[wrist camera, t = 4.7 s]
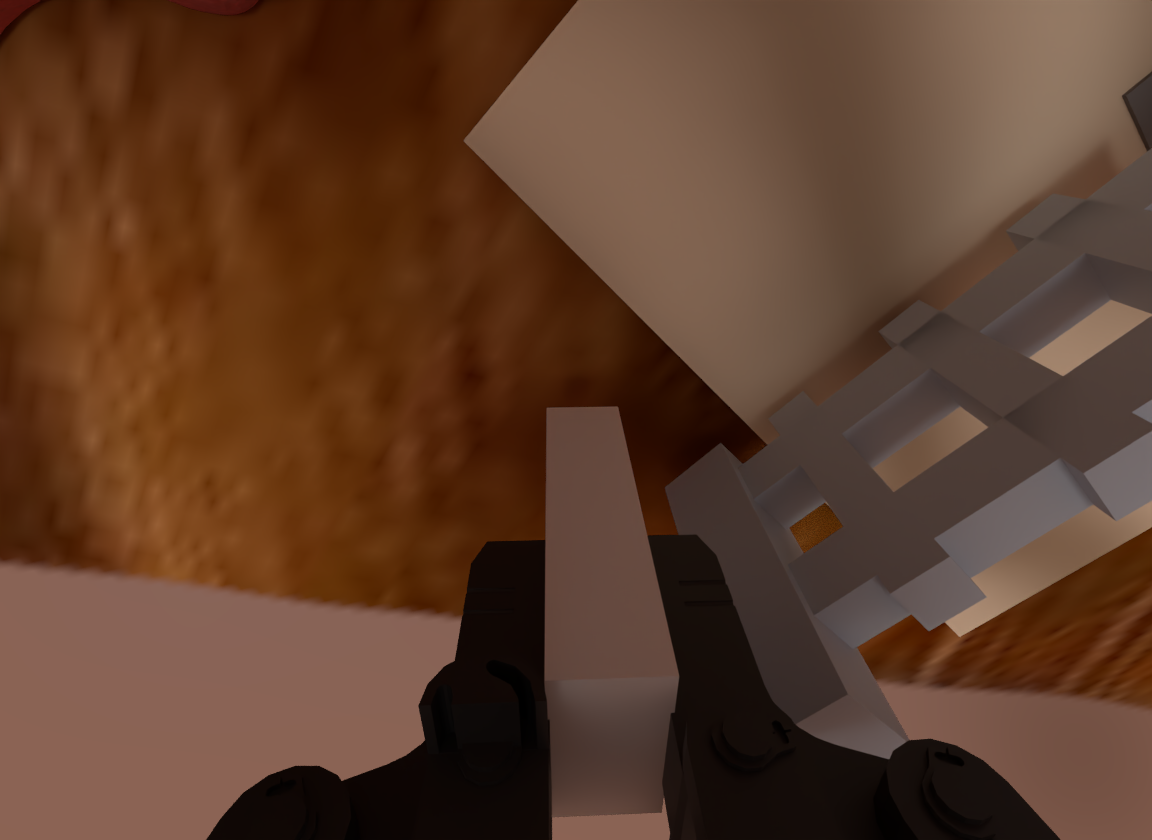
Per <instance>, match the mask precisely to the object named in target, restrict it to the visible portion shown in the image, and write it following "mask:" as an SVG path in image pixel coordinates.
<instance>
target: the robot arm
mask: <svg viewBox="0 0 1152 840" xmlns="http://www.w3.org/2000/svg"><path fill="white" fill-rule="evenodd" d="M419 711H420V715H421V721H422V726H423V731H424V736H425V741H424V742H423V743H422V744H421V745H419V746H418V747H417V748H415V749H414V750H413V751H411V752H410V753H409V754H407V755H406V756H404V757H402V758H400V759H398V760H396V761H393V762H391V763H389V764H387V765H384V766H382V767H379V768H376V769H373V770H371V771H368V772H365V773H363V774H360V775H357V776H354V777H352V778H349V779H346V780H344V781H341V779H340V778H339V776H338V775H336V774H334V773H332V772H330V771H328V770H326V769H324V768H322V767H320V766H294V767H291V768H288V769H285V770H282V771H280V772H276V773H274V774H271V775H268V776H267V777H265V778H264V779H263V780H261V781H260V782H258V783H257V784H255V785H254V786H253V787H251V788H250V789H248V790H247V791H245V792H244V793H243V794H242V795H241V796H240V797H239V798H238V800H236V802H235V803H234V804H233V805H232V806H231V808H229V810H228V811H227V812H226V813H225V814H224V815H223V816H222V818H221V819H220V820H219V822H218V823H217V825H216V826H215V828H214V829H213V831H212V832H211V834H210V835H209V837H208V838H207V840H552V817H569V816H590V815H591V816H592V815H616V814H639V813H661V812H662V805H663V798H665V804H666V810H667V816H668V822H669V828H670V839H669V840H1060V839H1059V838H1058V836H1057V835H1056V834H1055V833H1054V832H1053V831H1052V830H1051V829H1050V828H1049V826H1047V824H1046V823H1045V822H1044V821H1043V820H1042V819H1041V818H1040V817H1039V816H1038V814H1037V813H1036V812H1035V811H1034V810H1033V809H1032V808H1031V807H1030V806H1029V805H1028V804H1027V802H1026V801H1025V800H1024V799H1023V798H1022V797H1021V796H1020V795H1019V794H1018V793H1017V792H1016V790H1015V789H1014V788H1013V787H1012V786H1011V785H1010V784H1009V783H1008V782H1007V781H1006V780H1005V779H1004V778H1003V777H1002V776H1000V775H999V774H998V773H997V772H995V770H994V769H992V768H991V767H990V766H989V765H988V764H987V763H986V762H984V761H983V760H981V759H980V758H978V757H976V756H974V755H972V754H970V753H969V752H967V751H965V750H963V749H962V748H960V747H958V746H956V745H952V744H948V743H944V742H941V741H937V740H933V739H921V740H909V741H907V742H905V743H904V744H902V745H901V746H899V747H898V748H896V749H895V750H893V752H892V754H891V756H890V759H886V758H882V757H879V756H875V755H871V754H868V753H864V752H860V751H857V750H853V749H850V748H846V747H842V746H839V745H835V744H832V743H830V742H827V741H824V740H822V739H819V738H816V737H814V736H813V735H811V734H809V733H808V732H806V731H804V730H803V729H801V728H799V727H798V726H797V725H796V724H794V722H793V721H792V719H791V718H790V717H789V716H788V715H787V714H786V713H785V712H783V711H782V710H781V709H780V708H779V707H778V706H777V705H776V704H775V703H774V702H773V701H772V699H771V697H770V695H769V693H768V691H767V689H766V687H765V685H764V682H763V679H762V677H761V674H760V671H759V669H758V666H757V663H756V661H755V658H754V655H753V652H752V650H751V647H750V644H749V642H748V639H747V636H746V634H745V631H744V628H743V625H742V623H741V620H740V617H739V615H738V612H737V609H736V607H735V606H734V605H733V598H732V596H731V593H730V590H729V588H728V585H727V584H726V582H725V577H724V574H723V572H722V569H721V566H720V563H719V561H718V558H717V555H716V554H715V553H714V552H713V551H712V550H711V549H710V548H709V547H708V546H707V545H706V544H705V543H704V542H703V541H702V540H701V539H700V538H699V536H698V535H697V534H693V535H653V536H647V532H646V528H645V523H644V519H643V515H642V510H641V506H640V502H639V497H638V493H637V488H636V484H635V480H634V475H633V471H632V466H631V462H630V458H629V453H628V449H627V444H626V440H625V436H624V431H623V427H622V422H621V418H620V414H619V409H618V406H616V407H557V408H547V418H546V540H532V541H493V542H487V543H486V544H485V546H484V547H483V548H482V550H481V551H480V552H479V554H478V555H477V556H476V558H475V559H474V560H473V562H472V563H471V568H470V574H469V580H468V586H467V594H466V598H465V603H464V609H463V616H462V621H461V627H460V633H459V639H458V645H457V651H456V657H455V661H454V662H452V663H450V664H448V665H446V666H445V667H443V669H442V670H441V671H440V672H439V673H438V674H437V675H436V676H435V677H434V678H433V679H432V680H431V681H430V682H429V683H428V685H427V687H426V689H425V692H424V694H423V696H422V699H421V701H420V703H419Z"/></svg>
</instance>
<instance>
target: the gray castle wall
mask: <svg viewBox="0 0 1152 840" xmlns="http://www.w3.org/2000/svg"><path fill="white" fill-rule="evenodd" d="M1006 232H1007V234H1008V235H1009V237H1010V238H1011V240H1012V242H1013V243H1014V245H1015V247H1016V248H1017V250H1018V252H1017V253H1015V254H1014V255H1013V256H1012V257H1010V258H1009V259H1008V260H1006V261H1005V262H1004V263H1003V264H1001V265H1000V266H999V267H997V268H996V269H995V270H993V271H992V272H991V273H990V274H988V275H987V276H986V277H984V278H983V279H982V280H981V281H979V282H978V283H977V284H975V285H974V286H973V287H971V288H970V289H969V290H968V291H966V292H965V293H964V294H962V295H961V296H960V297H959V298H957V299H956V300H955V301H953V302H952V303H951V304H949V305H948V306H947V307H946V308H944V309H943V310H942V311H939V310H937V309H935V308H934V307H932V306H930V305H928V304H926V303H924V302H922V301H920V300H918V301H916V302H915V303H914V304H913V305H911V306H910V307H909V308H907V309H906V310H905V311H904V312H902V313H901V314H900V315H899V316H897V317H896V318H895V319H894V320H892V321H891V322H890V323H888V324H887V325H886V326H885V327H883V328H882V329H881V330H880V331H878V332H879V333H880V334H881V336H882V337H883V338H884V339H885V341H886V342H887V343H888V344H889V346H890V347H891V348H892V349H891V350H890V351H889V352H887V353H886V354H885V355H884V356H882V357H881V358H880V359H878V360H877V361H876V362H874V363H873V364H872V365H871V366H869V367H868V368H867V369H865V370H864V371H863V372H862V373H860V374H859V375H858V376H856V377H855V378H854V379H852V380H851V381H850V382H849V383H847V384H846V385H845V386H843V387H842V388H841V389H840V390H838V391H837V392H836V393H834V394H833V395H832V396H830V397H829V398H828V399H827V400H825V401H824V402H823V403H821V404H820V405H819V406H818V407H817V405H816V404H815V403H814V402H813V401H812V400H811V399H810V398H809V397H808V396H807V394H806V393H805V392H804V391H802V392H801V393H800V394H799V395H797V396H796V397H795V398H794V399H792V400H791V401H790V402H788V403H787V404H786V405H785V406H783V407H782V408H781V409H780V410H778V411H777V412H776V413H775V414H773V415H772V416H771V417H770V418H768V419H769V420H770V422H771V423H772V425H773V426H774V428H775V429H776V430H777V432H778V433H779V435H780V436H779V437H777V438H776V439H775V440H774V441H772V442H771V443H770V444H768V445H767V446H766V447H764V448H763V449H762V450H761V451H759V452H758V453H757V454H755V455H754V456H753V457H752V458H750V459H749V460H748V461H746V462H745V463H744V464H742V463H741V462H740V461H739V460H738V459H737V458H736V457H735V456H734V455H733V454H732V453H731V452H730V451H729V450H728V449H727V448H726V447H725V446H724V445H722V444H721V443H720V444H718V445H717V446H716V447H715V448H713V449H712V450H711V451H710V452H708V453H707V454H706V455H705V456H703V457H702V458H701V459H700V460H698V461H697V462H696V463H695V464H693V465H692V466H691V467H690V468H688V469H687V470H686V471H685V472H683V473H682V474H681V475H680V476H678V477H677V478H676V479H675V480H673V481H672V482H671V483H670V484H668V485H667V486H666V487H665V491H666V494H667V498H668V501H669V504H670V508H671V511H672V514H673V518H674V521H675V524H676V528H677V531H678V534H679V535H693V534H697V535H698V536H699V538H700V539H701V540H702V541H703V542H704V543H705V544H706V545H707V546H708V547H709V548H710V549H711V550H712V551H713V552H714V553H715V554H716V555H717V558H718V561H719V563H720V566H721V569H722V572H723V574H724V577H725V582H726V584H727V585H728V588H729V590H730V593H731V596H732V598H733V605H734V606H735V607H736V609H737V612H738V615H739V617H740V620H741V623H742V625H743V628H744V631H745V634H746V636H747V639H748V642H749V644H750V647H751V650H752V652H753V655H754V658H755V661H756V663H757V666H758V669H759V671H760V674H761V677H762V679H763V682H764V685H765V687H766V689H767V691H768V693H769V695H770V697H771V699H772V701H773V702H774V703H775V704H776V705H777V706H778V707H779V708H780V709H781V710H782V711H783V712H785V713H786V714H787V715H788V716H789V717H790V718H791V719H792V721H793V722H794V724H796V725H797V726H798V727H799V728H801V729H803V730H804V731H806V732H808V733H809V734H811V735H813V736H814V737H816V738H819V739H822V740H824V741H827V742H830V743H832V744H835V745H839V746H842V747H846V748H850V749H853V750H857V751H860V752H864V753H868V754H871V755H875V756H879V757H882V758H886V759H890V756H891V754H892V752H893V750H895V749H896V748H898V747H899V746H901V745H902V744H904V743H905V742H907V741H909V739H908V737H907V735H906V733H905V731H904V730H903V728H902V726H901V724H900V723H899V721H898V719H897V717H896V716H895V714H894V712H893V710H892V709H891V707H890V705H889V703H888V702H887V700H886V698H885V696H884V695H883V693H882V691H881V689H880V687H879V686H878V684H877V682H876V680H875V679H874V677H873V675H872V673H871V671H870V670H869V668H868V666H867V664H866V663H865V661H864V659H863V657H862V656H861V654H860V652H859V650H858V649H857V647H858V646H859V645H861V644H863V643H864V642H866V641H868V640H869V639H871V638H873V637H874V636H876V635H878V634H879V633H881V632H883V631H884V630H886V629H888V628H889V627H891V626H893V625H894V624H896V623H898V622H899V621H901V620H903V619H904V618H906V617H907V616H909V615H911V614H912V615H913V616H914V617H915V618H916V619H917V620H918V621H919V622H920V623H921V624H922V625H923V626H924V627H925V628H926V629H927V630H928V631H930V630H932V629H934V628H935V627H937V626H939V625H940V624H942V623H944V622H945V621H947V620H949V619H951V618H952V617H954V616H956V615H957V614H959V613H961V612H963V611H964V610H966V609H968V608H969V607H971V606H973V605H974V604H976V603H978V602H980V601H981V600H983V599H985V598H986V597H987V596H986V595H985V594H984V593H983V592H982V591H981V590H980V589H979V587H978V586H977V585H976V584H975V583H974V582H973V581H972V580H971V578H972V577H974V576H976V575H977V574H979V573H981V572H982V571H984V570H986V569H987V568H989V567H991V566H992V565H994V564H995V563H997V562H999V561H1000V560H1002V559H1004V558H1005V557H1007V556H1009V555H1010V554H1012V553H1014V552H1015V551H1017V550H1019V549H1020V548H1022V547H1024V546H1025V545H1027V544H1029V543H1030V542H1032V541H1034V540H1035V539H1037V538H1039V537H1040V536H1042V535H1044V534H1045V533H1047V532H1049V531H1050V530H1052V529H1054V528H1055V527H1057V526H1059V525H1060V524H1062V523H1064V522H1065V521H1067V520H1069V519H1070V518H1072V517H1074V516H1075V515H1077V514H1079V513H1080V512H1082V511H1083V510H1085V509H1087V508H1088V507H1090V506H1092V505H1095V506H1096V507H1098V508H1099V509H1100V510H1102V511H1103V512H1104V513H1106V514H1107V515H1108V516H1110V517H1111V518H1112V519H1114V520H1115V521H1118V520H1120V519H1121V518H1123V517H1125V516H1126V515H1128V514H1130V513H1132V512H1133V511H1135V510H1137V509H1138V508H1140V507H1142V506H1144V505H1145V504H1147V503H1149V502H1150V501H1152V316H1150V317H1149V318H1148V319H1146V320H1145V321H1143V322H1142V323H1140V324H1139V325H1137V326H1136V327H1134V328H1133V329H1131V330H1130V331H1129V332H1127V333H1126V334H1124V335H1123V336H1121V337H1120V338H1118V339H1117V340H1115V341H1114V342H1112V343H1111V344H1110V345H1108V346H1107V347H1105V348H1104V349H1102V350H1101V351H1099V352H1098V353H1096V354H1095V355H1093V356H1092V357H1091V358H1089V359H1088V360H1086V361H1085V362H1083V363H1082V364H1080V365H1079V366H1077V367H1076V368H1074V369H1073V370H1072V371H1070V372H1069V373H1067V374H1066V375H1064V376H1062V375H1060V374H1058V373H1056V372H1054V371H1052V370H1050V369H1049V368H1047V367H1045V366H1043V365H1041V364H1039V363H1037V362H1035V361H1034V360H1032V359H1030V357H1031V356H1032V355H1034V354H1035V353H1037V352H1038V351H1039V350H1041V349H1042V348H1044V347H1045V346H1047V345H1048V344H1049V343H1051V342H1052V341H1054V340H1055V339H1056V338H1058V337H1059V336H1061V335H1062V334H1063V333H1065V332H1066V331H1068V330H1069V329H1071V328H1072V327H1073V326H1075V325H1076V324H1078V323H1079V322H1080V321H1082V320H1083V319H1085V318H1086V317H1088V316H1089V315H1090V314H1092V313H1093V312H1095V311H1096V310H1097V309H1099V308H1100V307H1102V306H1103V305H1104V304H1106V303H1107V302H1109V301H1110V300H1113V301H1116V302H1119V303H1122V304H1125V305H1127V306H1130V307H1133V308H1136V309H1139V310H1142V311H1145V312H1148V313H1150V314H1152V148H1151V149H1150V150H1149V151H1147V152H1146V153H1145V154H1144V155H1142V156H1141V157H1140V158H1138V159H1137V160H1136V161H1135V162H1133V163H1132V164H1131V165H1129V166H1128V167H1127V168H1125V169H1124V170H1123V171H1122V172H1120V173H1119V174H1118V175H1116V176H1115V177H1114V178H1113V179H1111V180H1110V181H1109V182H1107V183H1106V184H1105V185H1103V186H1102V187H1101V188H1100V189H1098V190H1097V191H1096V192H1094V193H1093V194H1092V195H1091V196H1089V197H1088V198H1087V199H1081V198H1075V197H1069V196H1064V195H1058V194H1052V195H1050V196H1049V197H1048V198H1047V199H1045V200H1044V201H1043V202H1042V203H1040V204H1039V205H1038V206H1037V207H1035V208H1034V209H1033V210H1031V211H1030V212H1029V213H1028V214H1026V215H1025V216H1024V217H1023V218H1021V219H1020V220H1019V221H1018V222H1016V223H1015V224H1014V225H1012V226H1011V227H1010V228H1009V229H1007V230H1006ZM959 407H962V408H963V409H964V410H966V411H967V412H968V413H970V414H971V415H973V416H974V417H975V418H977V419H978V420H979V421H981V422H982V423H983V424H985V425H986V426H988V428H987V429H985V430H984V431H982V432H981V433H979V434H978V435H976V436H975V437H974V438H972V439H971V440H969V441H968V442H966V443H965V444H963V445H962V446H960V447H959V448H957V449H956V450H955V451H953V452H952V453H950V454H949V455H947V456H946V457H944V458H943V459H941V460H940V461H938V462H937V463H936V464H934V465H933V466H931V467H930V468H928V469H927V470H925V471H924V472H922V473H921V474H919V475H918V476H917V477H915V478H914V479H912V480H911V481H909V482H908V483H906V484H905V485H903V486H902V487H900V488H899V489H898V490H896V491H895V492H893V491H892V489H891V488H890V487H889V486H888V485H887V484H886V483H885V482H884V480H883V479H882V478H881V477H880V476H879V475H878V474H877V473H876V471H875V470H874V469H873V468H874V467H876V466H877V465H878V464H880V463H881V462H883V461H884V460H885V459H887V458H888V457H890V456H891V455H892V454H894V453H895V452H897V451H898V450H900V449H901V448H902V447H904V446H905V445H907V444H908V443H909V442H911V441H912V440H914V439H915V438H917V437H918V436H919V435H921V434H922V433H924V432H925V431H926V430H928V429H929V428H931V427H932V426H933V425H935V424H936V423H938V422H939V421H941V420H942V419H943V418H945V417H946V416H948V415H949V414H950V413H952V412H953V411H955V410H956V409H957V408H959ZM825 502H827V504H828V505H829V506H830V508H831V509H832V511H833V512H834V514H835V515H836V516H837V518H838V519H839V521H840V522H841V524H842V525H843V527H842V528H840V529H839V530H838V531H836V532H835V533H833V534H832V535H830V536H829V537H827V538H826V539H824V540H823V541H821V542H820V543H819V544H817V545H816V546H814V547H813V548H811V549H810V550H808V551H807V552H805V553H803V551H802V550H801V548H800V546H799V544H798V543H797V541H796V539H795V537H794V536H793V534H792V532H791V530H790V528H789V527H791V526H792V525H794V524H795V523H796V522H798V521H799V520H801V519H802V518H803V517H805V516H806V515H808V514H809V513H811V512H812V511H813V510H815V509H816V508H818V507H819V506H820V505H822V504H823V503H825Z"/></svg>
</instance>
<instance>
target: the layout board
mask: <svg viewBox="0 0 1152 840" xmlns="http://www.w3.org/2000/svg"><path fill="white" fill-rule="evenodd" d="M464 142H465V143H466V144H467V145H468V146H469V147H470V148H471V149H472V150H473V151H474V152H475V153H476V154H477V155H478V156H479V157H480V158H481V159H482V160H483V161H484V162H485V163H486V164H487V165H488V166H489V167H490V168H491V169H492V170H493V171H494V172H495V173H496V174H497V175H498V176H499V177H500V178H501V179H502V180H503V181H504V182H505V183H506V184H507V185H508V186H509V187H510V188H511V189H512V190H513V191H514V192H515V193H516V194H517V195H518V196H519V197H520V198H521V199H522V200H523V201H524V202H525V203H526V204H527V205H528V206H529V207H530V208H531V209H532V210H533V211H534V212H535V213H536V214H537V215H538V216H539V217H540V218H541V219H542V220H543V221H544V222H545V223H546V224H547V225H548V226H549V227H550V228H551V229H552V230H553V231H554V232H555V233H556V234H557V235H558V236H559V237H560V238H561V239H562V240H563V241H564V242H565V243H566V244H567V245H568V246H569V247H570V248H571V249H572V250H573V251H574V252H575V253H576V254H577V255H578V256H579V257H580V258H581V259H582V260H583V261H584V262H585V263H586V264H587V265H588V266H589V267H590V268H591V269H592V270H593V271H594V272H595V273H596V274H597V275H598V276H599V277H600V278H601V279H602V280H603V281H604V282H605V283H606V284H607V285H608V286H609V287H610V288H611V289H612V290H613V291H614V292H615V293H616V294H617V295H618V296H619V297H620V298H621V299H622V300H623V301H624V302H625V303H626V304H627V305H628V306H629V307H630V308H631V309H632V310H633V311H634V312H635V313H636V314H637V315H638V316H639V317H640V318H641V319H642V320H643V321H644V322H645V323H646V324H647V325H648V326H649V327H650V328H651V329H652V330H653V331H654V332H655V333H656V334H657V335H658V336H659V337H660V338H661V339H662V340H663V341H664V342H665V343H666V344H667V345H668V346H669V347H670V348H671V349H672V350H673V351H674V352H675V353H676V354H677V355H678V356H679V357H680V358H681V359H682V360H683V361H684V362H685V363H686V364H687V365H688V366H689V367H690V368H691V369H692V370H693V371H694V372H695V373H696V374H697V375H698V376H699V377H700V378H701V379H702V380H703V381H704V382H705V383H706V384H707V385H708V386H709V387H710V388H711V389H712V390H713V391H714V392H715V393H716V394H717V395H718V396H719V397H720V398H721V399H722V400H723V401H724V402H725V403H726V404H727V405H728V406H729V407H730V408H731V409H732V410H733V411H734V412H735V413H736V414H737V415H738V416H739V417H740V418H741V419H742V420H743V421H744V422H745V423H746V424H747V425H748V426H749V427H750V428H751V429H752V430H753V431H754V432H755V433H756V434H757V435H758V436H759V437H760V438H761V439H762V440H763V441H764V442H765V443H766V444H767V445H768V444H770V443H771V442H772V441H774V440H775V439H776V438H777V437H779V436H780V435H779V433H778V432H777V430H776V429H775V428H774V426H773V425H772V423H771V422H770V420H769V419H768V418H770V417H771V416H772V415H773V414H775V413H776V412H777V411H778V410H780V409H781V408H782V407H783V406H785V405H786V404H787V403H788V402H790V401H791V400H792V399H794V398H795V397H796V396H797V395H799V394H800V393H801V392H802V391H804V392H805V393H806V394H807V396H808V397H809V398H810V399H811V400H812V401H813V402H814V403H815V404H816V405H817V407H818V406H819V405H820V404H821V403H823V402H824V401H825V400H827V399H828V398H829V397H830V396H832V395H833V394H834V393H836V392H837V391H838V390H840V389H841V388H842V387H843V386H845V385H846V384H847V383H849V382H850V381H851V380H852V379H854V378H855V377H856V376H858V375H859V374H860V373H862V372H863V371H864V370H865V369H867V368H868V367H869V366H871V365H872V364H873V363H874V362H876V361H877V360H878V359H880V358H881V357H882V356H884V355H885V354H886V353H887V352H889V351H890V350H891V349H892V348H891V347H890V346H889V344H888V343H887V342H886V341H885V339H884V338H883V337H882V336H881V334H880V333H879V332H878V331H880V330H881V329H882V328H883V327H885V326H886V325H887V324H888V323H890V322H891V321H892V320H894V319H895V318H896V317H897V316H899V315H900V314H901V313H902V312H904V311H905V310H906V309H907V308H909V307H910V306H911V305H913V304H914V303H915V302H916V301H918V300H920V301H922V302H924V303H926V304H928V305H930V306H932V307H934V308H935V309H937V310H939V311H942V310H943V309H944V308H946V307H947V306H948V305H949V304H951V303H952V302H953V301H955V300H956V299H957V298H959V297H960V296H961V295H962V294H964V293H965V292H966V291H968V290H969V289H970V288H971V287H973V286H974V285H975V284H977V283H978V282H979V281H981V280H982V279H983V278H984V277H986V276H987V275H988V274H990V273H991V272H992V271H993V270H995V269H996V268H997V267H999V266H1000V265H1001V264H1003V263H1004V262H1005V261H1006V260H1008V259H1009V258H1010V257H1012V256H1013V255H1014V254H1015V253H1017V252H1018V250H1017V248H1016V247H1015V245H1014V243H1013V242H1012V240H1011V238H1010V237H1009V235H1008V234H1007V232H1006V230H1007V229H1009V228H1010V227H1011V226H1012V225H1014V224H1015V223H1016V222H1018V221H1019V220H1020V219H1021V218H1023V217H1024V216H1025V215H1026V214H1028V213H1029V212H1030V211H1031V210H1033V209H1034V208H1035V207H1037V206H1038V205H1039V204H1040V203H1042V202H1043V201H1044V200H1045V199H1047V198H1048V197H1049V196H1050V195H1052V194H1058V195H1064V196H1069V197H1075V198H1081V199H1087V198H1088V197H1089V196H1091V195H1092V194H1093V193H1094V192H1096V191H1097V190H1098V189H1100V188H1101V187H1102V186H1103V185H1105V184H1106V183H1107V182H1109V181H1110V180H1111V179H1113V178H1114V177H1115V176H1116V175H1118V174H1119V173H1120V172H1122V171H1123V170H1124V169H1125V168H1127V167H1128V166H1129V165H1131V164H1132V163H1133V162H1135V161H1136V160H1137V159H1138V158H1140V157H1141V156H1142V155H1144V154H1145V153H1146V152H1147V151H1149V150H1150V149H1151V148H1152V0H578V1H577V2H576V3H575V5H574V6H573V7H572V8H571V10H570V11H569V12H568V13H567V14H566V16H565V17H564V18H563V19H562V21H561V22H560V23H559V24H558V25H557V27H556V28H555V29H554V30H553V32H552V33H551V34H550V35H549V36H548V38H547V39H546V40H545V41H544V43H543V44H542V45H541V46H540V47H539V49H538V50H537V51H536V52H535V54H534V55H533V56H532V57H531V59H530V60H529V61H528V62H527V63H526V65H525V66H524V67H523V68H522V70H521V71H520V72H519V73H518V74H517V76H516V77H515V78H514V79H513V81H512V82H511V83H510V84H509V85H508V87H507V88H506V89H505V90H504V92H503V93H502V94H501V95H500V96H499V98H498V99H497V100H496V101H495V103H494V104H493V105H492V106H491V107H490V109H489V110H488V111H487V112H486V114H485V115H484V116H483V117H482V119H481V120H480V121H479V122H478V123H477V125H476V126H475V127H474V128H473V130H472V131H471V132H470V133H469V134H468V136H467V137H466V138H465V139H464ZM1150 316H1152V314H1150V313H1148V312H1145V311H1142V310H1139V309H1136V308H1133V307H1130V306H1127V305H1125V304H1122V303H1119V302H1116V301H1113V300H1110V301H1109V302H1107V303H1106V304H1104V305H1103V306H1102V307H1100V308H1099V309H1097V310H1096V311H1095V312H1093V313H1092V314H1090V315H1089V316H1088V317H1086V318H1085V319H1083V320H1082V321H1080V322H1079V323H1078V324H1076V325H1075V326H1073V327H1072V328H1071V329H1069V330H1068V331H1066V332H1065V333H1063V334H1062V335H1061V336H1059V337H1058V338H1056V339H1055V340H1054V341H1052V342H1051V343H1049V344H1048V345H1047V346H1045V347H1044V348H1042V349H1041V350H1039V351H1038V352H1037V353H1035V354H1034V355H1032V356H1031V357H1030V359H1032V360H1034V361H1035V362H1037V363H1039V364H1041V365H1043V366H1045V367H1047V368H1049V369H1050V370H1052V371H1054V372H1056V373H1058V374H1060V375H1062V376H1064V375H1066V374H1067V373H1069V372H1070V371H1072V370H1073V369H1074V368H1076V367H1077V366H1079V365H1080V364H1082V363H1083V362H1085V361H1086V360H1088V359H1089V358H1091V357H1092V356H1093V355H1095V354H1096V353H1098V352H1099V351H1101V350H1102V349H1104V348H1105V347H1107V346H1108V345H1110V344H1111V343H1112V342H1114V341H1115V340H1117V339H1118V338H1120V337H1121V336H1123V335H1124V334H1126V333H1127V332H1129V331H1130V330H1131V329H1133V328H1134V327H1136V326H1137V325H1139V324H1140V323H1142V322H1143V321H1145V320H1146V319H1148V318H1149V317H1150ZM987 428H988V426H986V425H985V424H983V423H982V422H981V421H979V420H978V419H977V418H975V417H974V416H973V415H971V414H970V413H968V412H967V411H966V410H964V409H963V408H962V407H959V408H957V409H956V410H955V411H953V412H952V413H950V414H949V415H948V416H946V417H945V418H943V419H942V420H941V421H939V422H938V423H936V424H935V425H933V426H932V427H931V428H929V429H928V430H926V431H925V432H924V433H922V434H921V435H919V436H918V437H917V438H915V439H914V440H912V441H911V442H909V443H908V444H907V445H905V446H904V447H902V448H901V449H900V450H898V451H897V452H895V453H894V454H892V455H891V456H890V457H888V458H887V459H885V460H884V461H883V462H881V463H880V464H878V465H877V466H876V467H874V468H873V469H874V470H875V471H876V473H877V474H878V475H879V476H880V477H881V478H882V479H883V480H884V482H885V483H886V484H887V485H888V486H889V487H890V488H891V489H892V491H893V492H895V491H896V490H898V489H899V488H900V487H902V486H903V485H905V484H906V483H908V482H909V481H911V480H912V479H914V478H915V477H917V476H918V475H919V474H921V473H922V472H924V471H925V470H927V469H928V468H930V467H931V466H933V465H934V464H936V463H937V462H938V461H940V460H941V459H943V458H944V457H946V456H947V455H949V454H950V453H952V452H953V451H955V450H956V449H957V448H959V447H960V446H962V445H963V444H965V443H966V442H968V441H969V440H971V439H972V438H974V437H975V436H976V435H978V434H979V433H981V432H982V431H984V430H985V429H987ZM825 503H826V504H827V502H825ZM827 505H828V504H827ZM828 506H829V505H828ZM829 507H830V506H829ZM1151 527H1152V501H1150V502H1149V503H1147V504H1145V505H1144V506H1142V507H1140V508H1138V509H1137V510H1135V511H1133V512H1132V513H1130V514H1128V515H1126V516H1125V517H1123V518H1121V519H1120V520H1118V521H1115V520H1114V519H1112V518H1111V517H1110V516H1108V515H1107V514H1106V513H1104V512H1103V511H1102V510H1100V509H1099V508H1098V507H1096V506H1095V505H1092V506H1090V507H1088V508H1087V509H1085V510H1083V511H1082V512H1080V513H1079V514H1077V515H1075V516H1074V517H1072V518H1070V519H1069V520H1067V521H1065V522H1064V523H1062V524H1060V525H1059V526H1057V527H1055V528H1054V529H1052V530H1050V531H1049V532H1047V533H1045V534H1044V535H1042V536H1040V537H1039V538H1037V539H1035V540H1034V541H1032V542H1030V543H1029V544H1027V545H1025V546H1024V547H1022V548H1020V549H1019V550H1017V551H1015V552H1014V553H1012V554H1010V555H1009V556H1007V557H1005V558H1004V559H1002V560H1000V561H999V562H997V563H995V564H994V565H992V566H991V567H989V568H987V569H986V570H984V571H982V572H981V573H979V574H977V575H976V576H974V577H972V578H971V580H972V581H973V582H974V583H975V584H976V585H977V586H978V587H979V589H980V590H981V591H982V592H983V593H984V594H985V595H986V596H987V597H986V598H985V599H983V600H981V601H980V602H978V603H976V604H974V605H973V606H971V607H969V608H968V609H966V610H964V611H963V612H961V613H959V614H957V615H956V616H954V617H952V618H951V619H949V620H947V621H945V623H946V624H947V625H948V626H949V627H950V628H951V629H952V630H953V631H954V632H955V633H956V634H957V635H958V636H959V637H960V636H962V635H964V634H966V633H967V632H969V631H971V630H973V629H974V628H976V627H978V626H980V625H981V624H983V623H985V622H987V621H988V620H990V619H992V618H994V617H995V616H997V615H999V614H1001V613H1002V612H1004V611H1006V610H1008V609H1009V608H1011V607H1013V606H1015V605H1016V604H1018V603H1020V602H1022V601H1023V600H1025V599H1027V598H1029V597H1030V596H1032V595H1034V594H1036V593H1037V592H1039V591H1041V590H1043V589H1044V588H1046V587H1048V586H1050V585H1051V584H1053V583H1055V582H1057V581H1058V580H1060V579H1062V578H1064V577H1065V576H1067V575H1069V574H1071V573H1072V572H1074V571H1076V570H1078V569H1079V568H1081V567H1083V566H1085V565H1086V564H1088V563H1090V562H1092V561H1093V560H1095V559H1097V558H1099V557H1100V556H1102V555H1104V554H1106V553H1107V552H1109V551H1111V550H1113V549H1114V548H1116V547H1118V546H1120V545H1121V544H1123V543H1125V542H1127V541H1128V540H1130V539H1132V538H1134V537H1135V536H1137V535H1139V534H1141V533H1142V532H1144V531H1146V530H1148V529H1149V528H1151Z"/></svg>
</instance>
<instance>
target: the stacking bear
mask: <svg viewBox="0 0 1152 840" xmlns="http://www.w3.org/2000/svg"><path fill="white" fill-rule="evenodd" d="M39 1H41V0H0V34H1V33H2V32H3V30H4V29H5V28H6V26H7V25H9V24H10V23H11V22H12V21H13V20H14V19H15V18H17V17H18V16H19V15H20V14H21V13H22V12H24V11H25V10H26V9H27V8H29V7H31V6H32V5H34V4H36V3H38V2H39ZM168 1H171V2H174V3H177V4H179V5H182V6H184V7H187V8H190V9H194V10H198V11H201V12H207V13H214V14H220V15H236V14H240V13H243V12H246V11H247V10H249V9H250V8H252V7H253V6H254V5H255V4H256V3H257V2H258V0H168Z"/></svg>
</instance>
